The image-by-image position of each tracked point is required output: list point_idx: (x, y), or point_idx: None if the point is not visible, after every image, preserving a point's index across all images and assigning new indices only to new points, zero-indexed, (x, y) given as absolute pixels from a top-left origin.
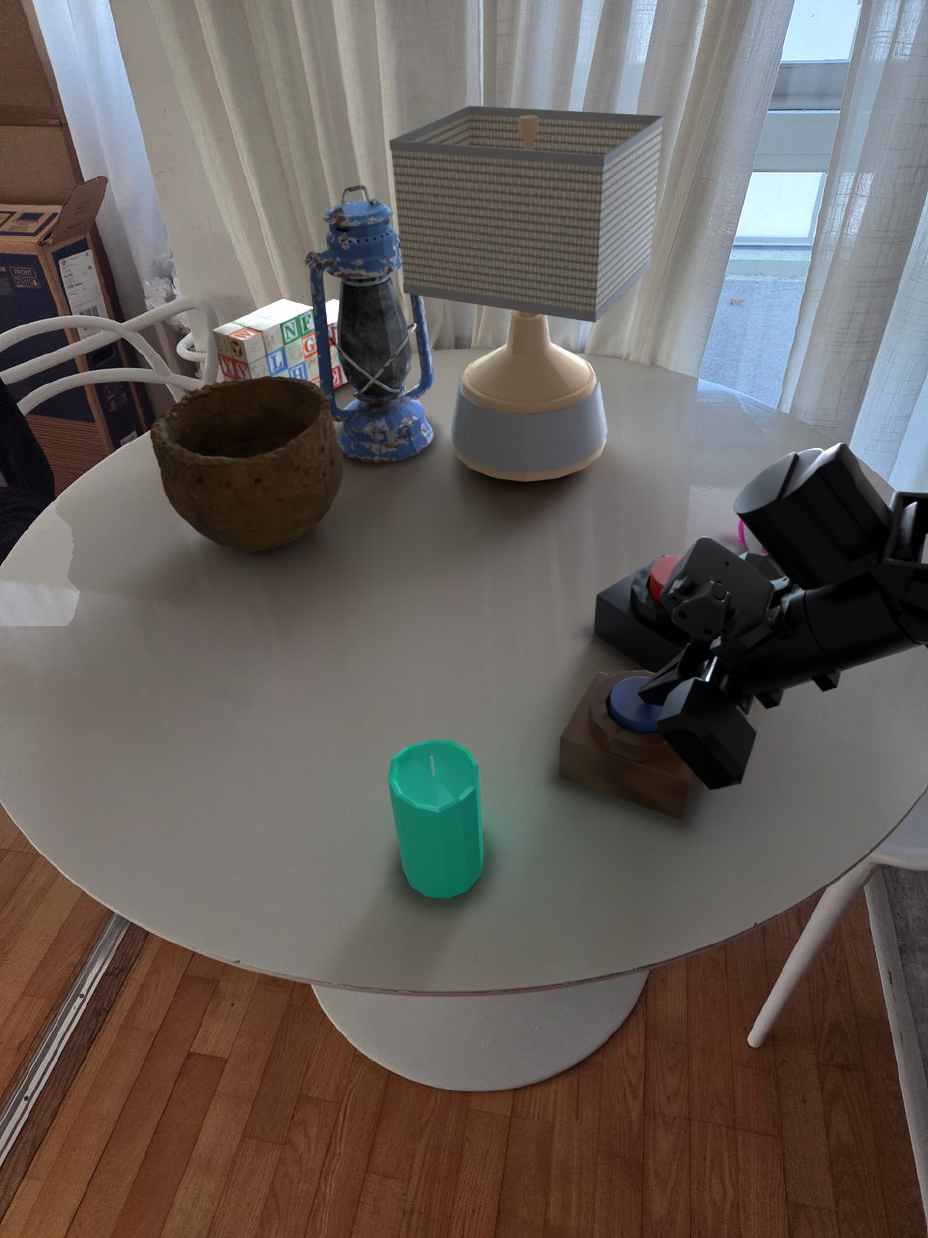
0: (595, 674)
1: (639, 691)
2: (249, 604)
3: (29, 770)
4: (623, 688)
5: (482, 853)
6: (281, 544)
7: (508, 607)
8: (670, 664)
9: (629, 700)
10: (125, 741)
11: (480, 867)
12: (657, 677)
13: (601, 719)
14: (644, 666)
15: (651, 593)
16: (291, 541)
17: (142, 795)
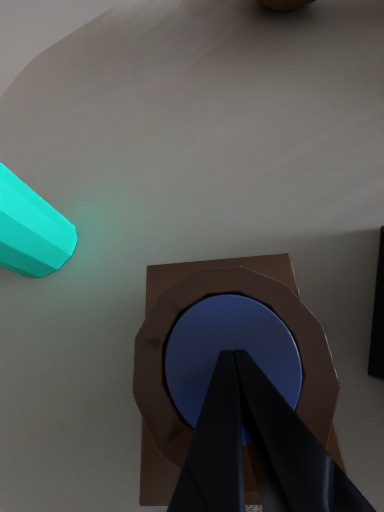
0: (280, 255)
1: (221, 354)
2: (214, 35)
3: (54, 49)
4: (237, 312)
5: (44, 267)
6: (269, 1)
7: (344, 146)
8: (301, 463)
9: (212, 336)
10: (84, 61)
11: (31, 273)
12: (250, 405)
13: (165, 305)
14: (376, 303)
15: None
16: (278, 4)
17: (52, 87)
